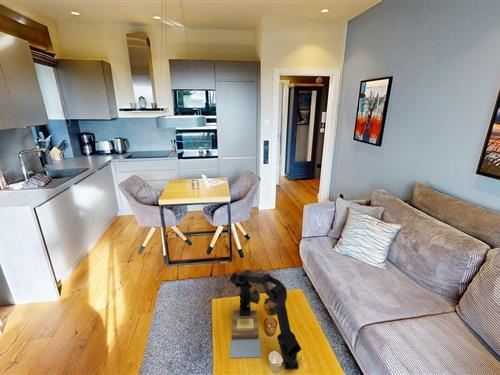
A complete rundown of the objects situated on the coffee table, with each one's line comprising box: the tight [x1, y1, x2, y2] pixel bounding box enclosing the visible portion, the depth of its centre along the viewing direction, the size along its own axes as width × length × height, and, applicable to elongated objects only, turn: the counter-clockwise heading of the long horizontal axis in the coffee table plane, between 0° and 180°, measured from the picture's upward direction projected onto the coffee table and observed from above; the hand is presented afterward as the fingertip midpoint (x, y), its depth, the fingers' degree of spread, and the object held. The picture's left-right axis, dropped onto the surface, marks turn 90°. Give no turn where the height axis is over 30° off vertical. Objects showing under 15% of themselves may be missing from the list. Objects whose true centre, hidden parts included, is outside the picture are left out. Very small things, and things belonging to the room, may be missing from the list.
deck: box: [231, 309, 259, 340], centre depth 139 cm, size 16×14×4 cm
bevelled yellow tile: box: [237, 319, 254, 331], centre depth 135 cm, size 6×9×2 cm, turn 91°
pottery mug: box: [263, 297, 277, 316], centre depth 151 cm, size 12×10×8 cm
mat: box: [229, 338, 263, 359], centre depth 127 cm, size 10×16×1 cm, turn 91°
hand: (245, 313), depth 143 cm, fingers closed
